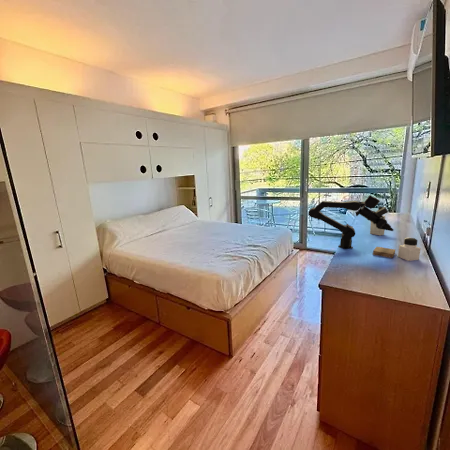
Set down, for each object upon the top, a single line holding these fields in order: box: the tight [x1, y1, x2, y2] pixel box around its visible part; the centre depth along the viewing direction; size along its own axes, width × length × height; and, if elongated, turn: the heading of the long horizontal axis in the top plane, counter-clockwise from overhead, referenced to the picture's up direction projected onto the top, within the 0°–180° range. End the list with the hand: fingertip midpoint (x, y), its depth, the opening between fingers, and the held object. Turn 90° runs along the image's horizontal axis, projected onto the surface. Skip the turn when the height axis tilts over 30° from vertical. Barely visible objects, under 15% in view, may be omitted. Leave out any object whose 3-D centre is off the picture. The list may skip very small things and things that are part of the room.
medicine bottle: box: [397, 237, 422, 262], centre depth 140 cm, size 7×7×12 cm
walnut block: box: [372, 246, 396, 259], centre depth 149 cm, size 10×10×3 cm
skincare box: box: [369, 215, 386, 236], centre depth 189 cm, size 8×6×15 cm
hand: (391, 228), depth 150 cm, fingers open, 9 cm apart
